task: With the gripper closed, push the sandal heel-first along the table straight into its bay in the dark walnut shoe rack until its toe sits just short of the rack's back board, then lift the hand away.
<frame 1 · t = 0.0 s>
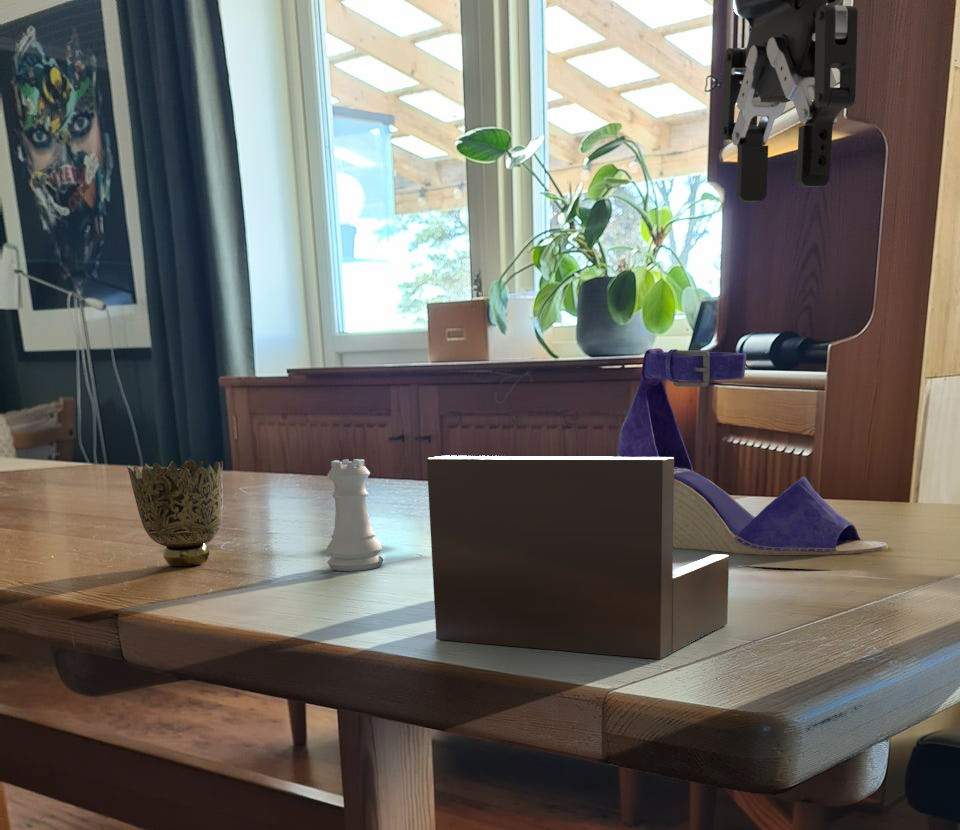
hand: (780, 194, 94), 25 cm above the table, tool pointing down, fingers open, 8 cm apart
shoe rack: (542, 649, 70), on the table
rook chess piece: (356, 569, 100), on the table
sandal: (747, 564, 95), on the table
cup: (187, 566, 106), on the table
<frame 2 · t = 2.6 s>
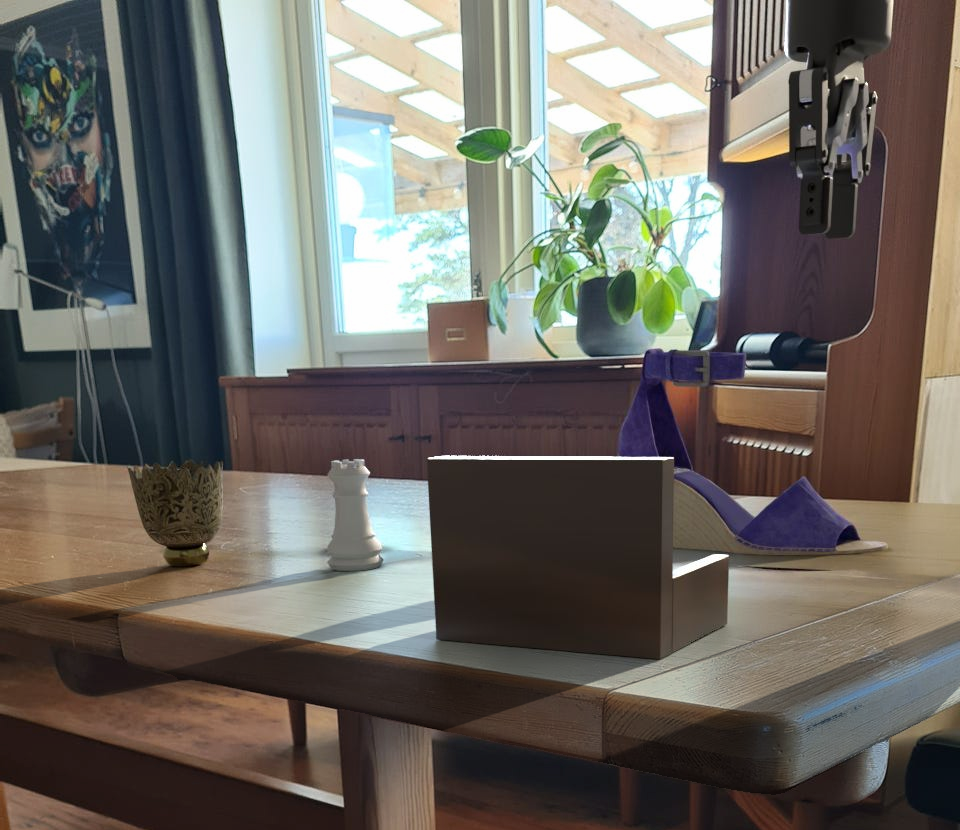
hand: (827, 235, 99), 23 cm above the table, tool pointing down, fingers open, 5 cm apart
nothing on the table moved.
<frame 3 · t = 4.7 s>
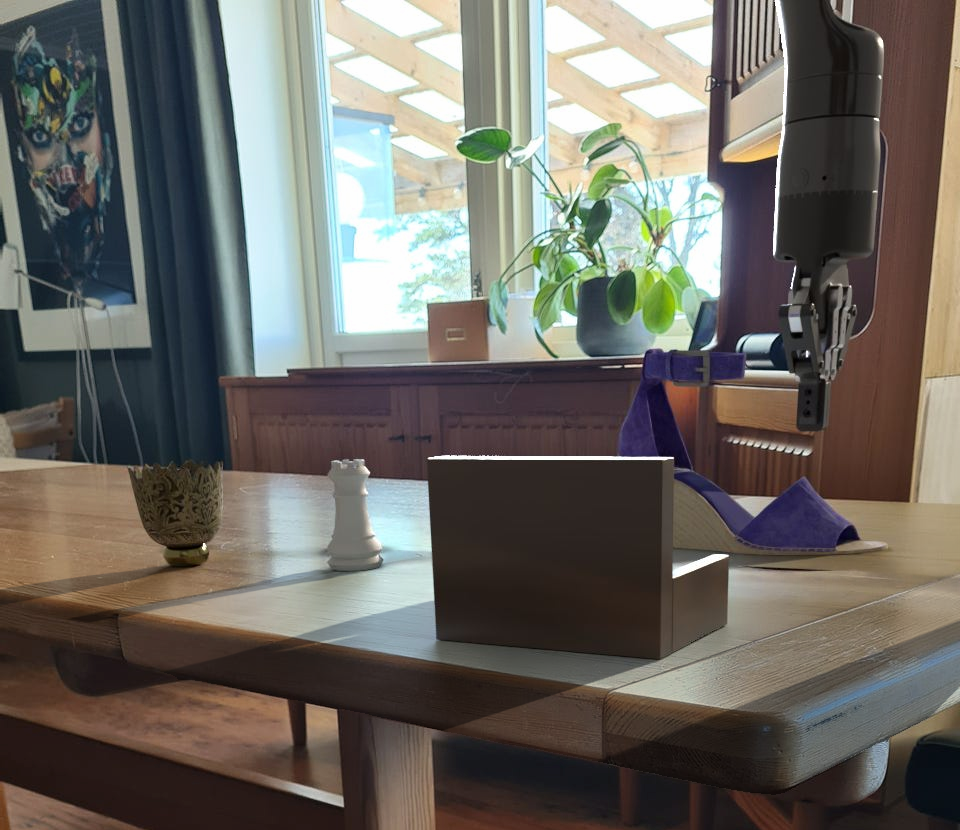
hand: (812, 430, 104), 8 cm above the table, tool pointing down, fingers closed
nothing on the table moved.
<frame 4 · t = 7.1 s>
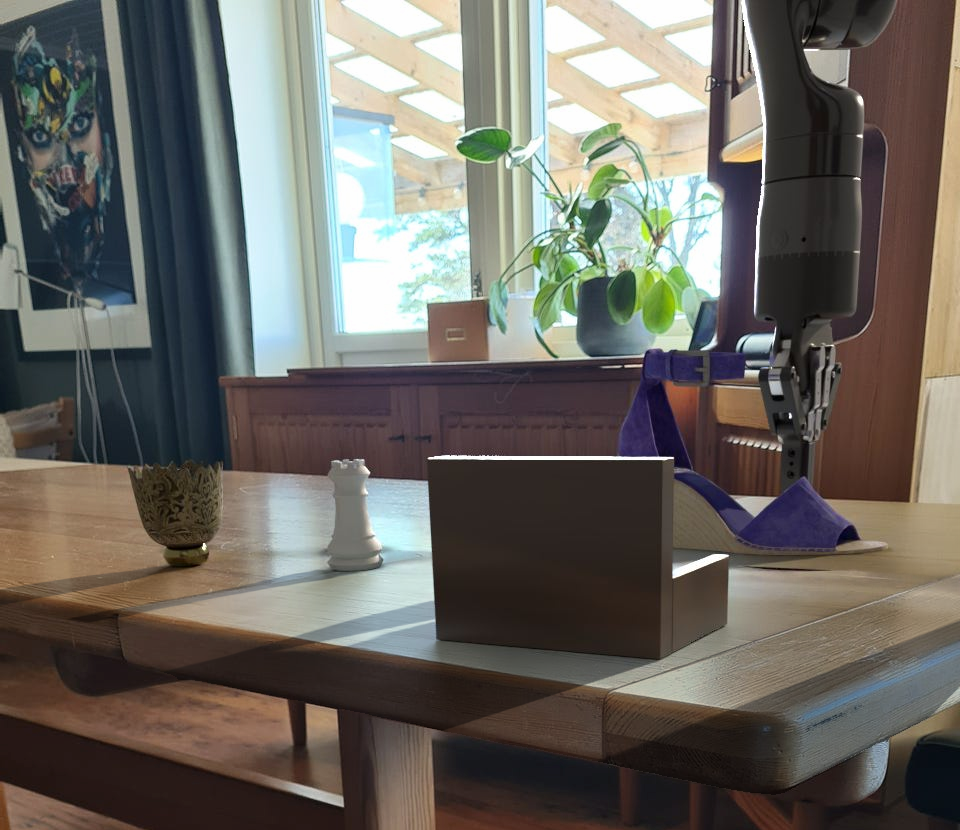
hand: (796, 491, 102), 4 cm above the table, tool pointing down, fingers closed
nothing on the table moved.
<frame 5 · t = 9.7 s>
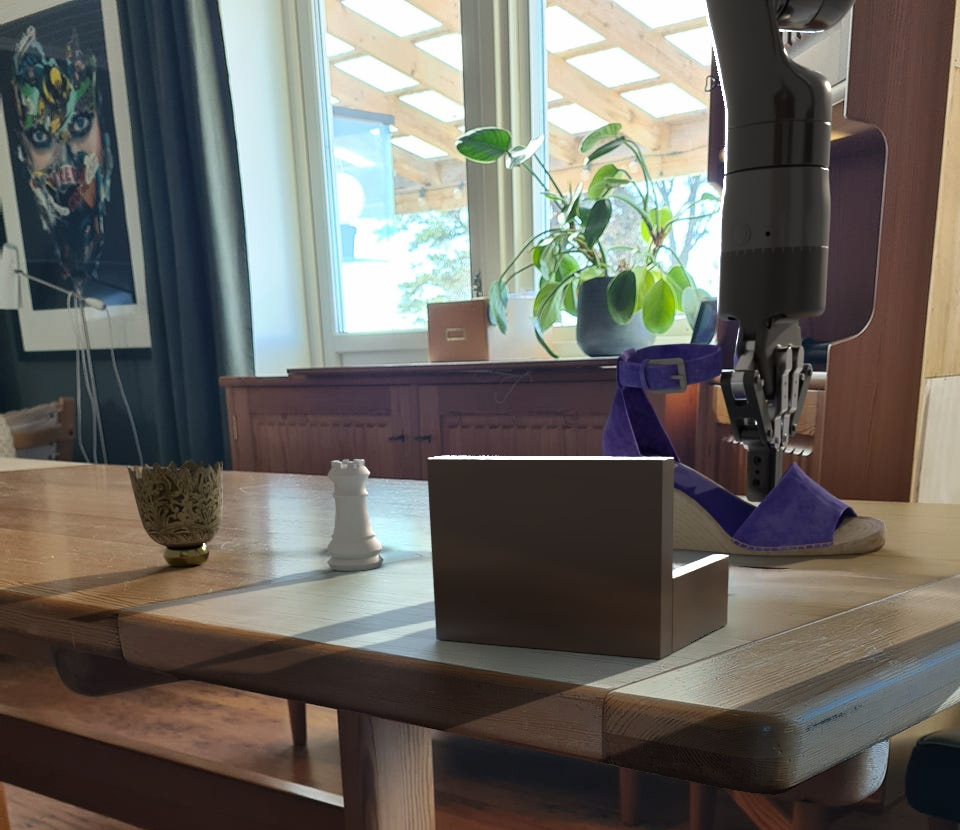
hand: (763, 500, 96), 4 cm above the table, tool pointing down, fingers closed
sandal: (746, 553, 95), point 1 cm above the table, touching gripper
everything else where it was.
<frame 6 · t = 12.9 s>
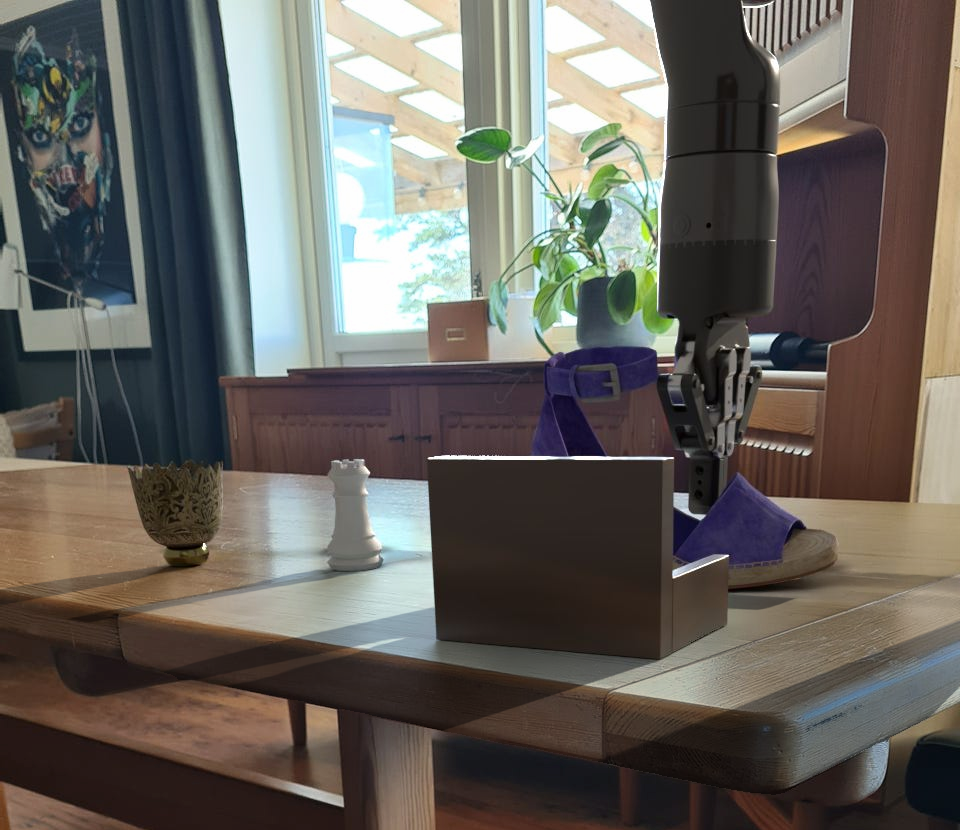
hand: (706, 512, 89), 4 cm above the table, tool pointing down, fingers closed
sandal: (689, 570, 88), point 1 cm above the table, touching gripper, hand
everything else where it was.
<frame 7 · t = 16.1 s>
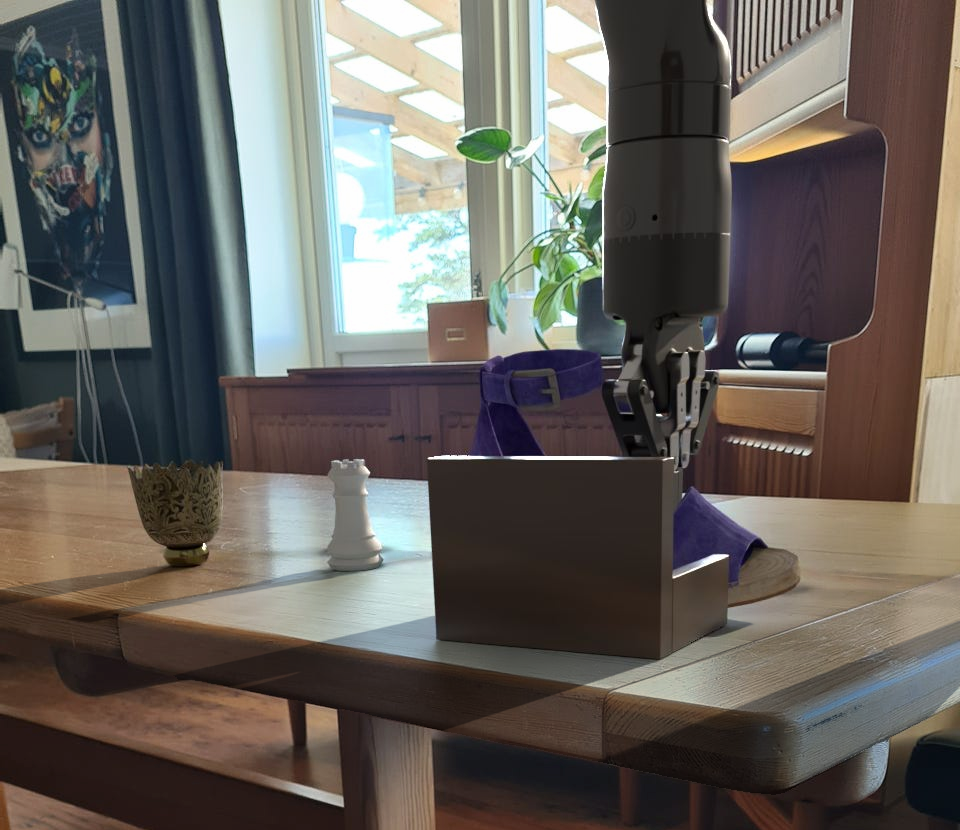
hand: (661, 529, 82), 4 cm above the table, tool pointing down, fingers closed
sandal: (642, 592, 81), point 1 cm above the table, touching gripper, hand
everything else where it was.
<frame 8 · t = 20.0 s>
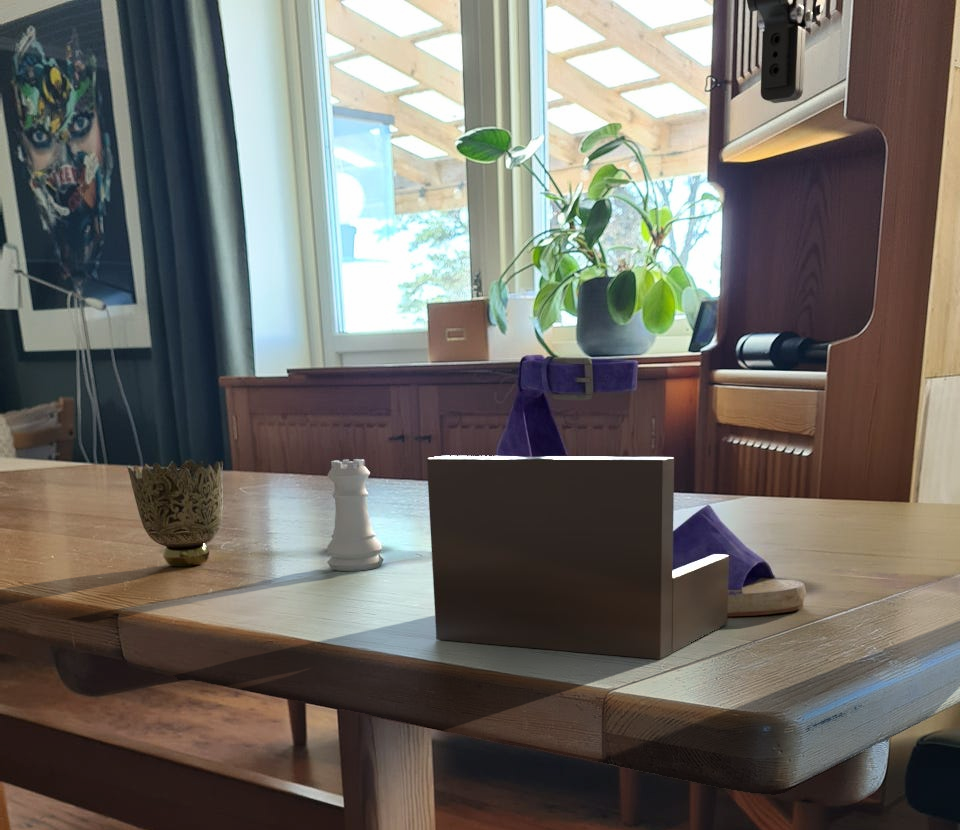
hand: (781, 99, 79), 29 cm above the table, tool pointing down, fingers closed
sandal: (645, 605, 82), on the table
everything else where it was.
at the end: sandal inside the target area on the table beside the shoe rack (1.7 cm from its centre), on the table; sandal tilted 0° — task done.
